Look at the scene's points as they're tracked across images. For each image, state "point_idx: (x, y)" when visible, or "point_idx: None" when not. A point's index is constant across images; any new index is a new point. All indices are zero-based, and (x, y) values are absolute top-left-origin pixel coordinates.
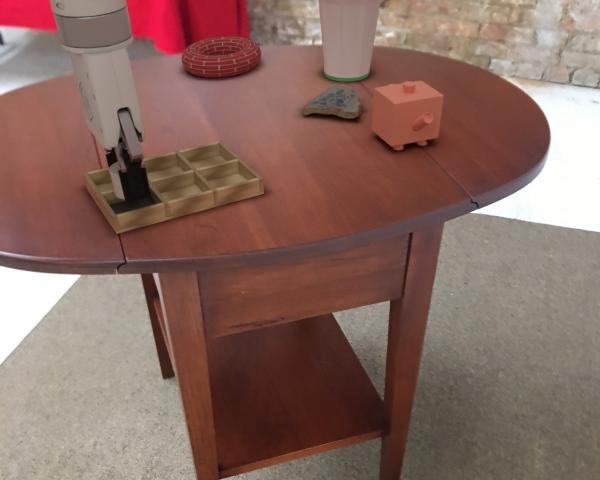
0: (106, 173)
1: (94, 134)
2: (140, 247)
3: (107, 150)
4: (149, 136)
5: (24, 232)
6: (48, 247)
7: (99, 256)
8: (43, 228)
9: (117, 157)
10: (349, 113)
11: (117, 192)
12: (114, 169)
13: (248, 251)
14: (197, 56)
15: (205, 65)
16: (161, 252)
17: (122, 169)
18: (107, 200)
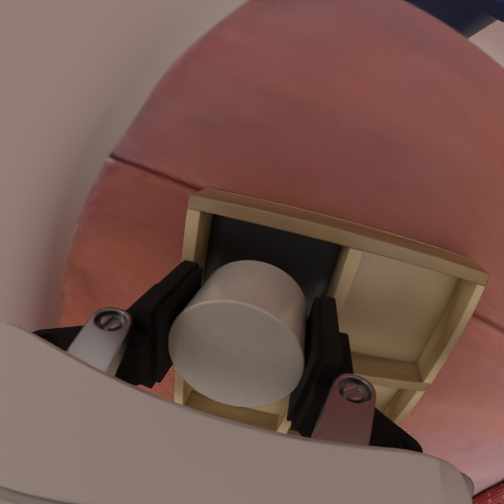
0: (452, 323)
1: (163, 422)
2: (128, 202)
3: (333, 384)
4: (485, 426)
5: (379, 21)
6: (265, 29)
7: (148, 112)
8: (370, 59)
9: (105, 348)
10: None
11: (235, 267)
12: (246, 325)
13: (58, 319)
14: (499, 500)
15: (487, 500)
16: (96, 225)
17: (93, 313)
18: (344, 250)
